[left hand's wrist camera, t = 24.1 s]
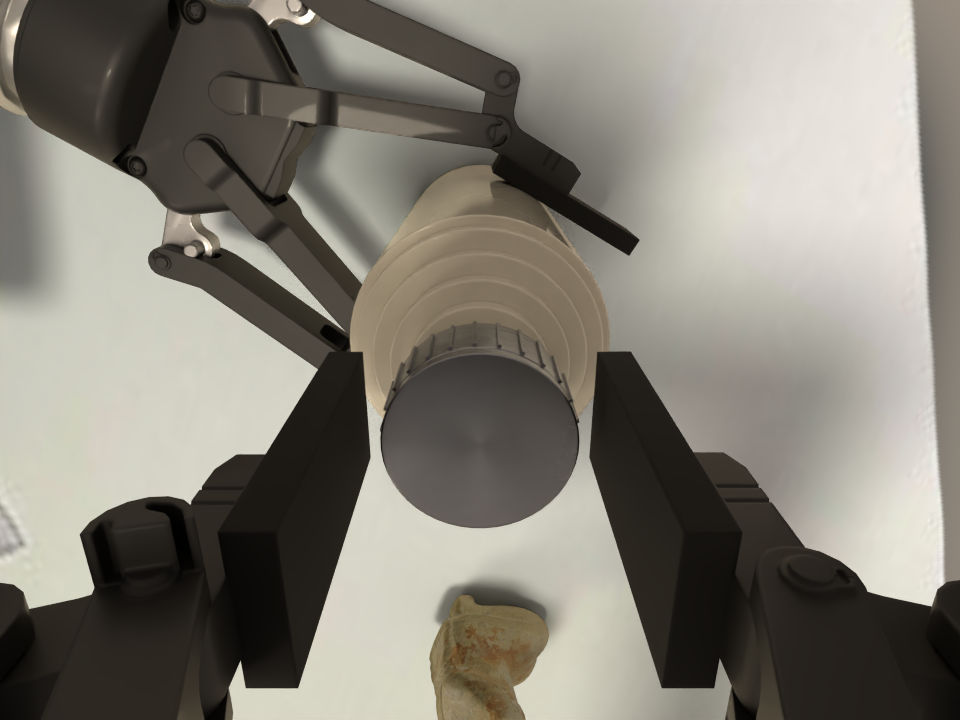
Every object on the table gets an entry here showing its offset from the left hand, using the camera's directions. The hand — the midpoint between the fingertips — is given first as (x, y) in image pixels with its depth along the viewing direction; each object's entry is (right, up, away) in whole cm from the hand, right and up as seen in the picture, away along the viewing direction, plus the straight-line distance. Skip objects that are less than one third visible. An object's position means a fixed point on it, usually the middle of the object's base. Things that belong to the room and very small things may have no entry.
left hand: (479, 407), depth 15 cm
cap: (0, -1, -1) cm, 2 cm away
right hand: (+4, +3, +14) cm, 15 cm away
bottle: (0, +7, +19) cm, 20 cm away
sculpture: (+1, -16, +28) cm, 33 cm away
